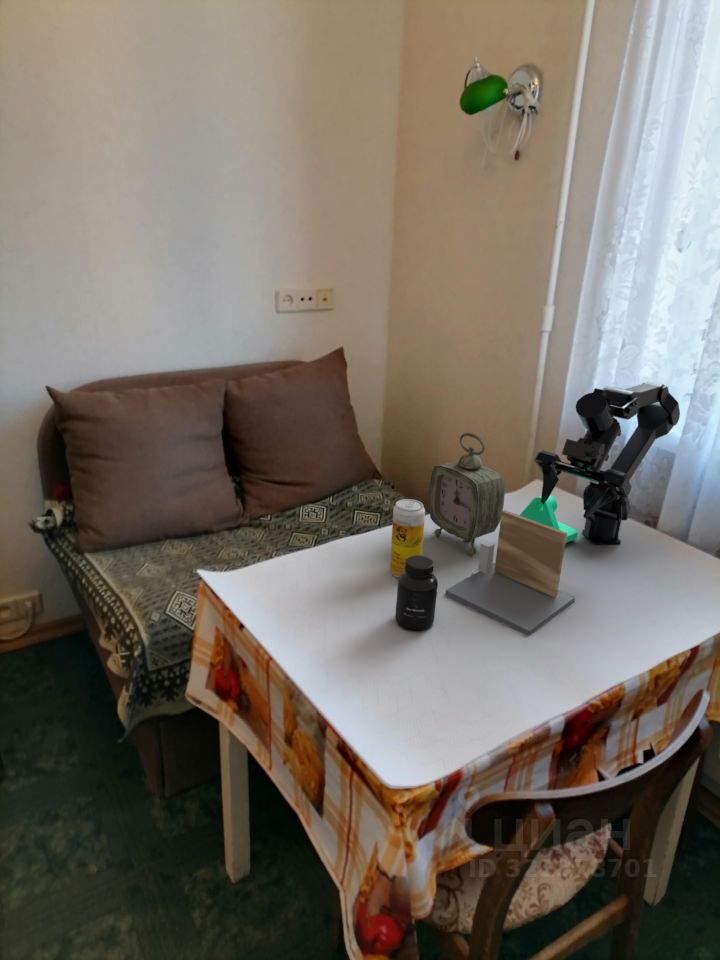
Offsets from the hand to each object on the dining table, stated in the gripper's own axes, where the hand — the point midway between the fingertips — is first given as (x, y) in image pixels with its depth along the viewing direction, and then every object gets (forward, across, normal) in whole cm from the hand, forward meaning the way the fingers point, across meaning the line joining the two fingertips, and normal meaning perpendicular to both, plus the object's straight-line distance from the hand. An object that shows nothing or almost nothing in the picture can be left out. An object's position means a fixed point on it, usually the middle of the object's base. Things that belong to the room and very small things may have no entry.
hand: (562, 510), depth 131 cm
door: (+17, 0, 0) cm, 17 cm away
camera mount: (+2, -9, +19) cm, 21 cm away
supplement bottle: (+34, -7, -18) cm, 39 cm away
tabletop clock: (+13, -20, +6) cm, 24 cm away
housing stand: (+21, 0, -3) cm, 21 cm away
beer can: (+26, -20, -9) cm, 34 cm away
